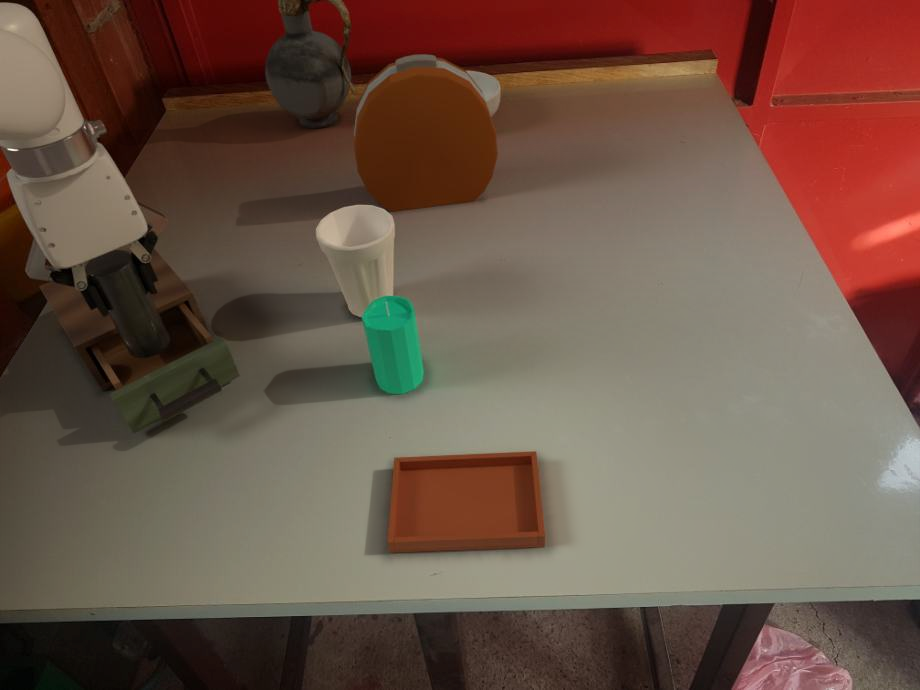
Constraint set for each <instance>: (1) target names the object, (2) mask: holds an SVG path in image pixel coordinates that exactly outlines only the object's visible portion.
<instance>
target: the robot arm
mask: <svg viewBox="0 0 920 690" xmlns="http://www.w3.org/2000/svg"><path fill="white" fill-rule="evenodd" d="M107 133H108V132H107V128H106V126H105V124H104V122H103V121H102V120H101V119H97V120H94V121H93V120H87V119H86V118H84V116H83V114H82V112H81V109H80V107H79V105H78V104H77V100H75V97H74V94H73V93H72V90H71V88H70V86H69V83H68V81H67V79H66V77H65V75H64V73H63V70H62V67H61V66H60V64H59V62H58V59H57V57H56V55H55V53H54V51H53V49H52V46H51V44H50V42H49V40H48V37H47V35H46V33H45V31H44V29H43V26H42V25H41V23H40V21H39V19H38V18H37V16H36V15H35V13H33V11H32V10H31V9H29V8H28V7H27V6H24V5H22V4H19V3H16V2H15V3H13V2H0V149H1V151H2V153H3V155H4V156H5V158H6V160H7V162H8V163H9V165H10V167H11V168H10V169H9V170H8V171H7V172H6V178H7V181H8V185H9V188H10V191H11V193H12V196H13V199H14V202H15V204H16V205H17V209H18V210H19V212H20V214H21V217H22V218H23V220H24V222H25V224H26V226H27V228H28V230H29V232H30V234H31V236H32V238H33V240H32V244H31V247H30V250H29V254H28V257H27V260H26V263H25V264H26V265H25V268H24V271H25V272H26V275H27V276H28V277H29V279H32V280H38V281H39V280H40V281H47V282H51V281H54V282H55V283H59V284H63V285H67V286H71V287H75V288H76V289H77V290H80V292H81V294H82V296H83V298H84V299H85V301H86V303H87V305H88V306H89V308H90V309H91V310H93V309H95V308H98V310H99V311H100V313H101V314H102V316H103V317H105V316H107V315H108V313H109V312H108V310H107V308H106V306H105V304H104V303H103V301H102V299H101V297H100V295H99V293H98V291H97V289H96V288H95V286H94V285H93V283H92V282H91V281H90V279H89V277H88V276H86V272H85V267H86V265H85V263H86V262H89V261H90V260H91V259H94V258H96V257H99V256H101V255H104V254H106V253H109V252H111V251H113V250H119V249H120V248H124V247H125V246H126V247H127V249H128V248H129V249H130V250H131V251H132V253H131V256H132V258H133V260H134V262H135V264H136V266H137V268H138V271H139V273H140V275H141V277H142V279H143V281H144V283H145V285H146V287H147V290H148V291H149V293H150V294H153V295H154V294H156V293H158V292H157V290H156V288H155V285H154V282H156V281H158V279H157V276H156V274H155V272H154V270H153V268H152V265H151V263H150V261H151V253H152V251H153V249H155V247H156V245H157V242H158V241H159V236H161V234H162V233H163V231H164V229H165V228H166V227H167V225H168V223H169V220H168V218H166V216H165V215H164V214H163V213H161V212H159V211H157V210H155V209H153V208H151V207H149V206H147V205H145V204H144V203H141V202H139V201H137V199H136V198H135V195H134V194H133V192H132V190H131V188H130V186H129V185H128V183H127V180H126V179H125V177H124V175H123V174H122V173H121V171H120V169H119V168H118V165H117V164H116V163H115V161H114V160H113V157H112V156H111V155H110V154H109V152H108V151H107V149H106V147H104V145H103V144H102V143H100V142H98V138H101V136H102V135H105V134H107ZM47 260H48V262H49V263H50V264H51V266H49V265H48V264H46V262H47Z"/></svg>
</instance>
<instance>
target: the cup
mask: <svg viewBox="0 0 920 690" xmlns="http://www.w3.org/2000/svg"><path fill="white" fill-rule="evenodd" d="M393 217H394V216H393V215H392V214H391V213H389V212H388V211H387V209H386V208H382V207H379V206H376V205H373V204H354V205H349V206H343V207H341V208H338V209H336V210H334V211H332V212H329V213H328V214H327V215H326V216H324V217H323V218H321V219H320V221H319V223H318V224H317V226H316V228H315V237H316V240H317V244H318V246H319V248H320V250H321V251H322V252H323V254H324V255H325V256H326V257H327V260H328V262H329V265H330V266H331V269H332V271H333V275H334V276H335V278H336V281H337V283H338V286H339V288H340V290H341V292H342V295H343V298H344V300H345V302H346V305H347V308H348V310H349V311H350V313H351V314H352V315H354V316H357V317H359V318H362V315H363V313H364V311H365V309H366V308H367V307H368V306H369V305H370V304H371V302H372V301H373V300H376V299H378V298H381V297H383V296H394V257H395V255H394V254H395V251H394V249H395V237H396V227H395V226H396V225H395V221H394V218H393Z"/></svg>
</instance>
